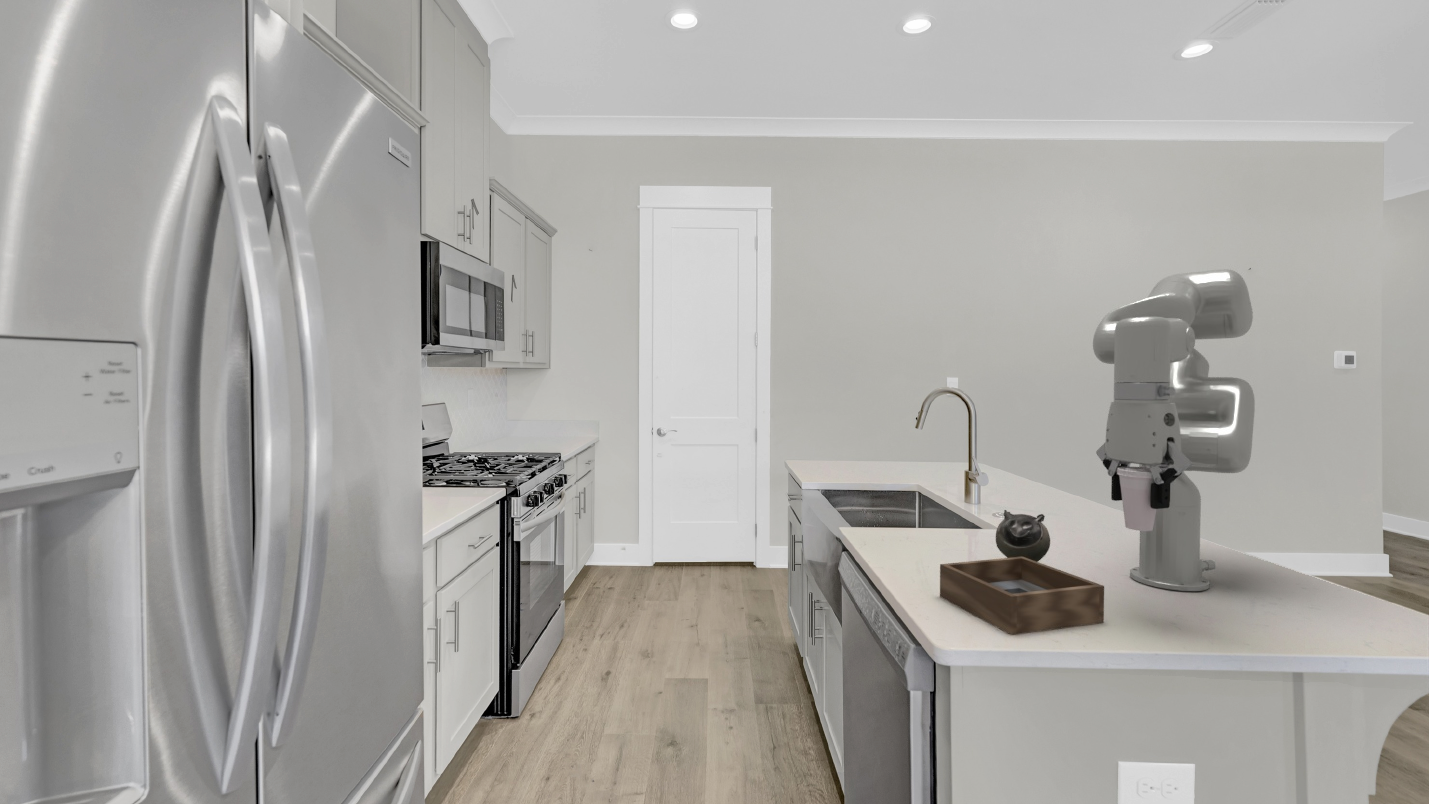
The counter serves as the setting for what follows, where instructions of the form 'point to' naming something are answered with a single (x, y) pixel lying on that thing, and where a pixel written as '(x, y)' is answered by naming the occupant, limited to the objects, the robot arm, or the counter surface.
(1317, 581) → the counter surface
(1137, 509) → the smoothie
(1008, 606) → the wooden box
